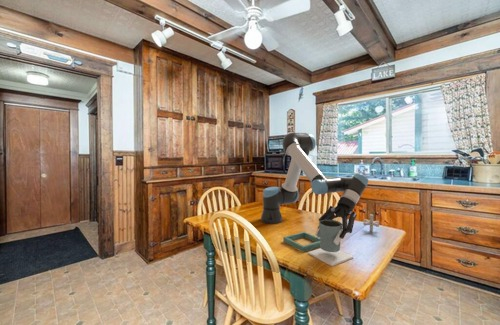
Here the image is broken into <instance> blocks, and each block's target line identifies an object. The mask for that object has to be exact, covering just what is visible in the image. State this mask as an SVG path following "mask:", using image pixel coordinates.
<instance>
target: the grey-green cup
mask: <svg viewBox="0 0 500 325" xmlns="http://www.w3.org/2000/svg"><path fill="white" fill-rule="evenodd" d="M318 224H319V225H318V227H319V230H320V237H319V238H320V247H319V248H321V249H322V250H324V251H327V252H338V251H339V250H340V251H341V241H340V242H339V244H338V245H336V244H335V243H334V242H333V241H334V240H335V238H336V236H337V234H338V232H339V231H340V229H341V230H342V222H340V221H339V220H335V219H333V220H321V221H319V220H318Z"/></svg>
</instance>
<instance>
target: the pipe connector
mask: <svg viewBox="0 0 500 325" xmlns="http://www.w3.org/2000/svg"><path fill="white" fill-rule="evenodd" d="M362 224H363V226H369V232H370V231H373V232H374V227H376V228H379V227H380V221H379V220H374V214H369V219H366V218H364V219H363V223H362Z"/></svg>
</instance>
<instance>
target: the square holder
mask: <svg viewBox="0 0 500 325" xmlns="http://www.w3.org/2000/svg"><path fill="white" fill-rule="evenodd" d="M302 238H306V239H308V240H310V241H313V242H311V243H308V244H305V245H303V244H302V243H301V244H300V243H298V242H297V241H295V240H298V239H302ZM282 239H283V243H286V244H287V245H289V246H291V247H293V248H295V249H296V250H298V251H300V252H303V253H306V252H310V251H313V250H316V249H319V248H321V247H320V237H319V238H318V237H317V236H316V235H313V234H312V233H309V232H306V231H302V232H298V233H294V234H291V235H287V236H283V238H282Z"/></svg>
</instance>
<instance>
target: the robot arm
mask: <svg viewBox="0 0 500 325" xmlns="http://www.w3.org/2000/svg"><path fill="white" fill-rule="evenodd" d="M281 143H282V146H281V147H282V149H283V150H284V152H285V153H286V155H287V156H289V157H291V160H290V162H289V166H288V170H287V173H286V177H285V181H284V183H281V186H269V187H266V188H264V189H263V190H262V212H261V216H260V221H261V222H262V223H264V224H269V225H270V224H279V223H282V222H283V217H282V213H281V211H280V207H281V206H282V205H288V204H294V203H295V202H297V201H298V200H299V198H300V194H299V190H298V187H297V184H298V182H299V179H300V175H301V172H302V173H303V174H304V175H305V177H306V178H307V179H308V180H309V182H310V183H311V184H310V188H311V191H312V193H314V194H316V195H325V194H326V195H327V194H332V193H342V194H341V197H340V198H339V199H338V202H337V205H336V206H332V205H330V206H329V207H328V209H327V210H326V211H325V212H324V213H323V214H322V215H321V216H320V217H319V218H318V222H319V221H321V220H335V219H337V218H340V219H341V220H342V222H341V223H342V230H341V229H340V231H339V232H338V234H337V236H336V238H335V240H334V241H333V242H334V243H335V244H336V245H338V244H339V242H340V243H341V240H342V239H344V238H345V236H346V234H347V233H349V234H352V233H353V228H354V224H355V220H356V218H357V216H358V215H357V213H356V211H354V209H355V207H356V205H357V204H358V202H359V200H360V198H361V196H362V194H363V193H364V192H365V190H366V189H367V186H368V184H369V178H368V177H367V176H366V175H364V174H362V173H355V174H353V176H352V177H339V176H336V177H334V176H333V177H331V178H327V177H326V176H325V175H324V174H323V173H322V172H321V170H320V169H319V168H318V167H317V166H316V165H315V163H314V162H313V161H312V160H311V158H309V157H308V156H309V155H310V152H312V151H314V150H315V148H316V144H317V142H316V139H315V136H314V135H313V134H312V133H309V132H308V133H307V132H290V133H288V134H286V135H285V136H284V137H283V140H282V142H281ZM280 205H281V206H280ZM348 216H349V217H348ZM314 234H315V235H314V236H316V237H318V238H320V230H319V226H317V231H316V232H315V233H314Z"/></svg>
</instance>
